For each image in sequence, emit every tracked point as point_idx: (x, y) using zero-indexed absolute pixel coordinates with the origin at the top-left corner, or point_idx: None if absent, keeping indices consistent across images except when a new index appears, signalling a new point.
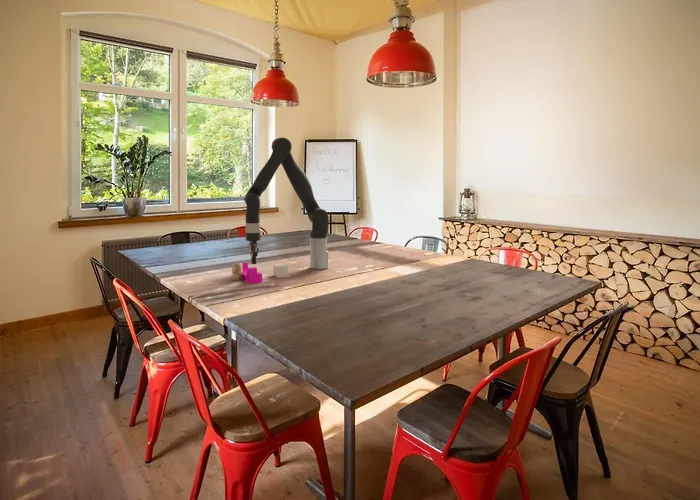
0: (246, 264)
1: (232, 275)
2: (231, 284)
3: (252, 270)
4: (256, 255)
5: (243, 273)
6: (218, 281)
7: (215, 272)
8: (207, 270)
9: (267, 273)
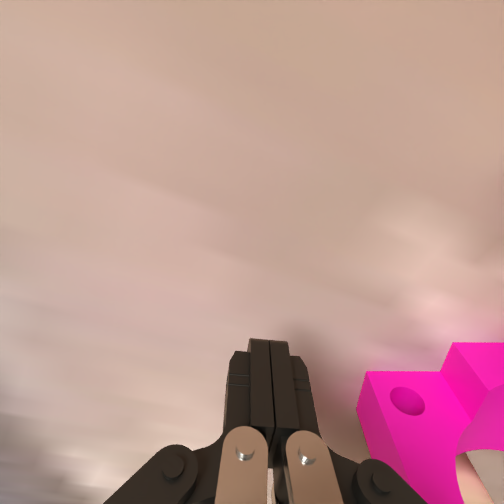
0: (456, 501)
1: None
2: (484, 470)
3: None
4: (398, 494)
5: (457, 452)
6: None
7: (136, 468)
8: (60, 484)
9: (385, 188)
